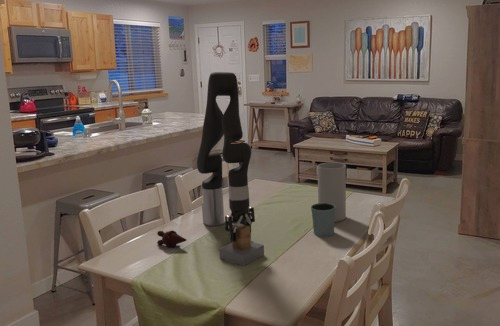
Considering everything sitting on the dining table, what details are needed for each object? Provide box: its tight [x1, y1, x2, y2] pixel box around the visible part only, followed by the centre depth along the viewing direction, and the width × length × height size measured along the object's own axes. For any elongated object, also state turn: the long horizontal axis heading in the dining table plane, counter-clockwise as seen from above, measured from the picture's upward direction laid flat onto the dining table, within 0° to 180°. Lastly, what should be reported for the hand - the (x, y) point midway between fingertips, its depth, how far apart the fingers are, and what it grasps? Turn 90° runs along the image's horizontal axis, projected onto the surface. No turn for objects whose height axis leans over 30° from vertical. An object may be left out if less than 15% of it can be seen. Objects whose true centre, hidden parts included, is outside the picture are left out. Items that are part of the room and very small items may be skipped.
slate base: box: [218, 241, 265, 267], centre depth 179 cm, size 12×12×4 cm
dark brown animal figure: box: [156, 230, 187, 248], centre depth 192 cm, size 7×7×15 cm
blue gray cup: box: [310, 202, 336, 238], centre depth 198 cm, size 10×10×12 cm
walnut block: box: [231, 224, 252, 250], centre depth 177 cm, size 5×5×8 cm
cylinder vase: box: [317, 162, 347, 223], centre depth 215 cm, size 12×12×25 cm
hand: (241, 237), depth 177 cm, fingers open, 8 cm apart
